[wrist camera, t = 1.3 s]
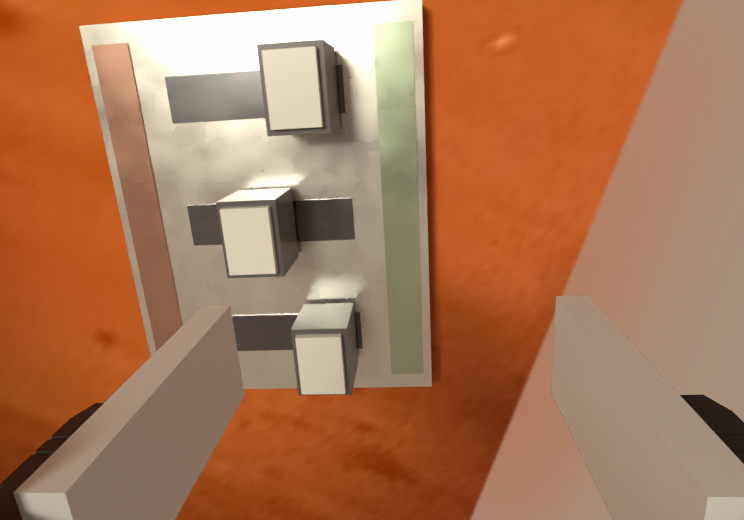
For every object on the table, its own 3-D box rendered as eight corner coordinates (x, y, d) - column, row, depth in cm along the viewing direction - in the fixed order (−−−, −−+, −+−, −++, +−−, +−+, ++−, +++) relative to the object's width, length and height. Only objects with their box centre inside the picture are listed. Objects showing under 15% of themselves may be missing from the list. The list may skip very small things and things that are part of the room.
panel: (168, 377, 34) (157, 390, 33) (96, 29, 27) (77, 25, 26) (430, 373, 33) (432, 387, 31) (421, 4, 26) (421, -2, 24)
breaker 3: (310, 363, 31) (296, 399, 27) (304, 304, 30) (288, 333, 26) (358, 362, 30) (351, 398, 27) (353, 302, 29) (345, 331, 26)
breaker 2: (248, 258, 29) (224, 281, 25) (238, 190, 28) (212, 203, 24) (298, 256, 29) (282, 279, 25) (291, 187, 27) (272, 200, 24)
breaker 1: (285, 132, 27) (265, 136, 23) (276, 52, 25) (253, 43, 22) (340, 128, 26) (329, 133, 23) (334, 47, 25) (321, 38, 21)
